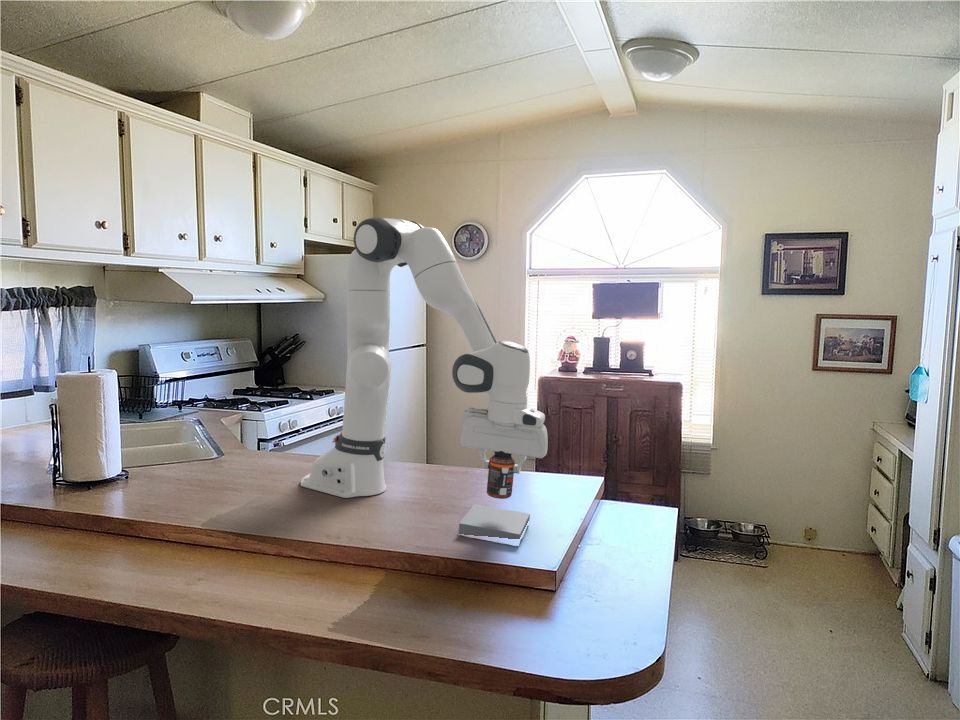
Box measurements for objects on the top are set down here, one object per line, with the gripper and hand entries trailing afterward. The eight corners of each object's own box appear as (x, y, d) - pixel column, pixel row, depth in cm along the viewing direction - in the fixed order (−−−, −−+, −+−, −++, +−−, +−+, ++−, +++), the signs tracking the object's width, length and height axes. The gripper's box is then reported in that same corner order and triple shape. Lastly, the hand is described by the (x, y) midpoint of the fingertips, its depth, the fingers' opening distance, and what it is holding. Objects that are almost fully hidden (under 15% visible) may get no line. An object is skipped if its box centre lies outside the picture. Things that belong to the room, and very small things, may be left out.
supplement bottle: (509, 501, 147) (514, 453, 145) (484, 497, 148) (488, 449, 146) (513, 493, 152) (517, 447, 151) (488, 489, 153) (492, 443, 152)
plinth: (458, 535, 146) (459, 523, 145) (473, 515, 159) (474, 503, 159) (518, 547, 143) (519, 534, 142) (528, 525, 156) (530, 513, 156)
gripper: (459, 408, 147) (454, 467, 148) (548, 420, 142) (542, 480, 144) (466, 404, 153) (461, 460, 155) (551, 415, 148) (545, 473, 150)
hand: (501, 470), depth 149 cm, fingers closed on supplement bottle, 6 cm apart
